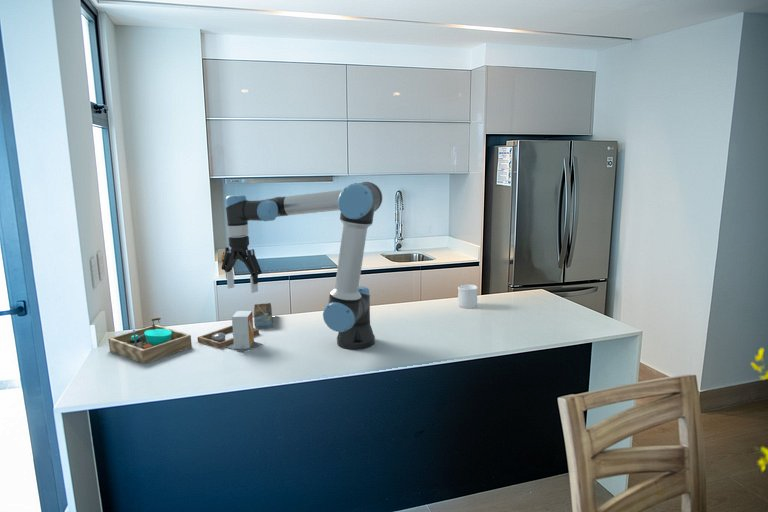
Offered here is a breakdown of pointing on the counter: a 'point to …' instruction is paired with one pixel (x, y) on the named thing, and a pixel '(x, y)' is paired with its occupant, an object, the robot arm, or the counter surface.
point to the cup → (467, 296)
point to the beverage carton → (263, 316)
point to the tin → (218, 337)
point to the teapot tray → (153, 353)
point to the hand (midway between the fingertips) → (242, 289)
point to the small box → (243, 329)
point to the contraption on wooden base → (151, 337)
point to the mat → (254, 345)
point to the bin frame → (206, 340)
